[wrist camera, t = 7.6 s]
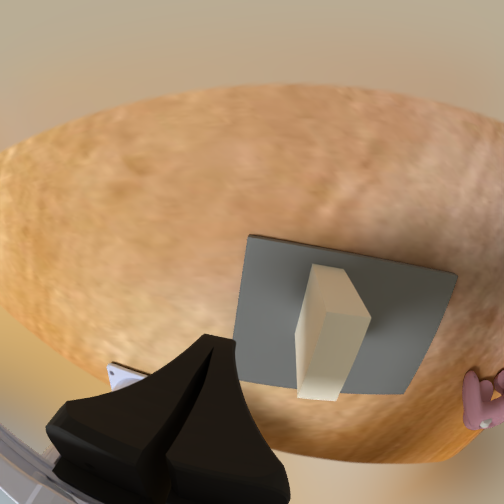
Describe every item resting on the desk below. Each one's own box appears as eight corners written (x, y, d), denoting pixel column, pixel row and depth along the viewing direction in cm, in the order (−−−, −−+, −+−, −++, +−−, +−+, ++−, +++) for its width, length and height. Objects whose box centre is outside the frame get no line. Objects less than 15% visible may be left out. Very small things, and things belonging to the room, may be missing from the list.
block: (323, 337, 18) (335, 401, 12) (294, 333, 18) (297, 397, 12) (343, 269, 16) (371, 317, 11) (312, 263, 16) (326, 311, 11)
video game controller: (449, 386, 21) (461, 443, 16) (466, 369, 18) (483, 434, 13) (509, 358, 19) (524, 407, 14) (528, 339, 16) (546, 392, 11)
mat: (401, 389, 19) (403, 394, 19) (228, 372, 20) (227, 377, 20) (454, 273, 16) (458, 276, 15) (249, 234, 17) (247, 236, 16)
